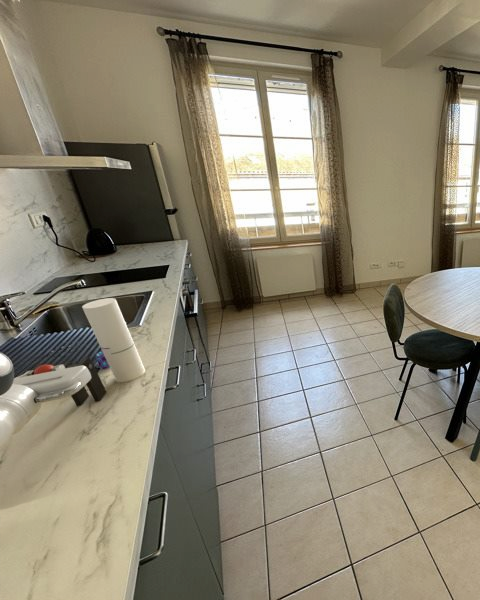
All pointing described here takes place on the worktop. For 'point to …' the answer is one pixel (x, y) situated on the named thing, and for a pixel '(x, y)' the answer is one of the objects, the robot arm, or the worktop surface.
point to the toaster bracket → (88, 384)
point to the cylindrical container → (114, 339)
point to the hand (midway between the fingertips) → (47, 370)
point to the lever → (48, 368)
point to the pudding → (101, 360)
